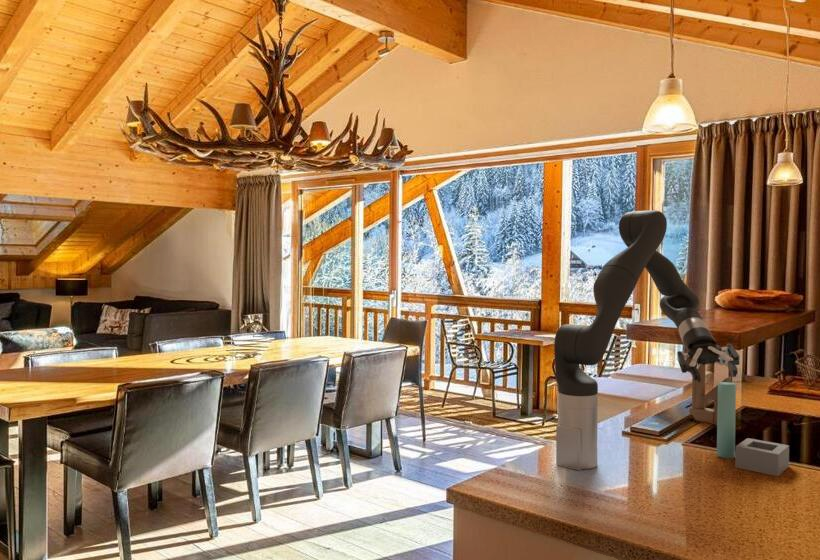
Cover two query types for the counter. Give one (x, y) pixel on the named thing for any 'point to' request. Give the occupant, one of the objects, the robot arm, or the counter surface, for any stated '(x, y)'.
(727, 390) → the peg
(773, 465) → the socket block
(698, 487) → the counter surface
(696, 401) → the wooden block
